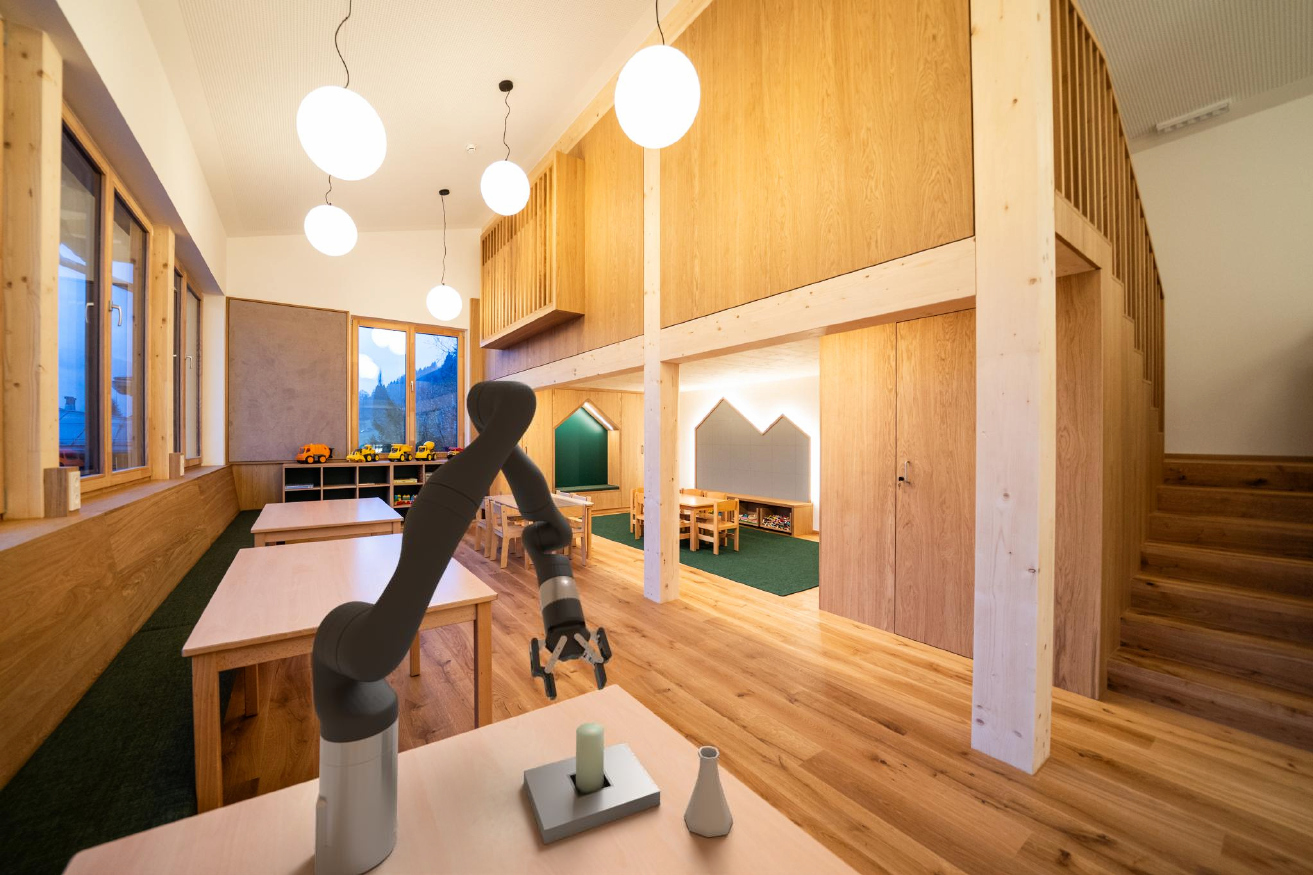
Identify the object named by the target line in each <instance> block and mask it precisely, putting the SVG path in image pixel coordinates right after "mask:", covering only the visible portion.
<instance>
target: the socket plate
mask: <svg viewBox="0 0 1313 875" xmlns="http://www.w3.org/2000/svg"><path fill="white" fill-rule="evenodd" d="M523 785H524V788H525V791H526V794H527V798H528V800H529V803H530V806H531V809H532V813H533V815H534V818H535V821H536V824H537V827H538V830H539V832H540V836H541V839H542V842H543V845H545V846H546V845H548V844H550V843H554V842H556V841H560V840H562V839H565V838H568V837H570V836H573V835H576V834H579V833H581V832H585V831H587V830H590V829H594V828H596V827H598V826H602V825H604V824H607V823H610V822H613V821H616V820H618V819H623V818H624V817H627V816H630V815H633V814H636V813H638V812H641V811H644V810H646V809H649V808H650V809H651V808H653V807H656V806H657V805H658V806H659V805H661V790H660V788H659V786H657V784H656V783H655V782H654V780H653V778H652V777H651V776H650V775H649V773H648V772H647V771H646V769H645V768H644V767H643V764H642V763H641V762H640V761H639V759H638V758H637V757H636V755H635V754H634V753H633V751H632V749H631V748H630V747H629V745H628V744H627V743H626V742H621V743H618V744H614V745H612V746H607V747H604V788H603V789H600V790H597V791H593V792H590V793H587V794H584V795H581V796H579V794H578V792H577V790H576V755H575V756H572V757H568V758H565V759H561V760H558V761H554V762H551V763H548V764H547V763H546V764H544V765H540V766H535V767H533V768H530V769H526V770H523Z"/></svg>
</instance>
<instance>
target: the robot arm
mask: <svg viewBox="0 0 1313 875" xmlns="http://www.w3.org/2000/svg"><path fill="white" fill-rule="evenodd" d="M537 405H538V404H537V396H536V393H535V391H534V388H533V387H532V386H531V385H529V384H528V383H526V382H522V381H516V380H483V381H479V382H476V383H475V384H474V385H472V386H471V388H469V391H468V394H467V396H466V410H467V414H468V417H469V419H470V421H471V423H472V426H474V428H475V430H476V431H477V433H478V436H476V438H475V439H474V440H473V441H472V442H471V443H470V444H468V445H467V446H465V447H463V449H462V450H460V451H458V453H456V454H454V456H452V457H450V458H449V459H448V460H446V461H445V462H444V463H443V464H441V465H440V466H439V467H438V468H437V469H436V470H434V471H433V472H432V473H431V474H430V476H429V477H428V478H427V480H426V481H425V482H424V484H423V485H422V487H421V489H420V490H419V492H418V494H417V495H416V497H415V498H414V500H413V501H412V503H411V504H410V506H409V508H408V510H407V513H406V515H405V518H404V522H403V528H402V536H401V547H400V548H401V549H400V553H399V560H398V563H397V564H396V568H395V570H394V572H393V574H392V576H391V578H390V579H389V581H388V583H387V585H386V586H385V588H384V589H383V592H382V593H381V595H380V596H379V598H378V599H377V600H376V602H375V603H371V602H366V601H360V600H359V601H357V600H356V601H355V600H353V601H347V602H345V603H341V604H339V605H338V606H336V607H335V608H333V609H331V610H330V611H329V612H328V613H327V614H326V616H325V617H324V618H323V619H322V620H321V622H320V623H319V626H318V628H317V630H316V632H315V636H314V638H313V644H312V652H311V653H312V654H311V665H312V668H311V669H312V670H311V672H312V698H313V699H312V700H313V708H314V711H315V715H316V717H317V719H318V722H319V772H318V773H319V776H318V778H319V781H318V795H317V799H316V803H315V818H314V819H315V821H314V822H315V824H314V825H315V828H314V829H315V830H314V832H315V833H314V875H362V874H363V873H366V872H368V871H370V870H371V869H373V868H374V867H376V866H378V865H379V864H380V863H382V862H383V861H384V860H385V859H387V857H388V856H389V855H390V854H391V853H392V851H393V850H394V848H395V847H396V846H395V845H396V844H397V837H398V835H397V833H398V781H399V780H398V776H399V774H398V771H399V768H398V767H399V766H398V764H399V711H400V710H399V709H400V708H399V704H400V701H399V696H398V694H397V691H395V690H394V688H393V687H392V686H391V684H390V683H389V682H388V680H387V679H386V677H388V676H389V675H391V674H392V673H393V672H394V671H395V670H396V669H397V668H398V667H399V665H401V663H402V662H403V660H404V659H405V657H406V656H407V654H408V653H409V651H410V649H411V647H412V646H413V645H412V644H413V643H414V641H415V638H416V636H417V634H418V631H419V630H420V627H421V625H422V623H423V620H424V618H425V615H426V613H427V610H428V609H429V606H430V603H431V601H432V598H433V597H434V594H435V592H436V590H437V587H438V586H439V583H440V581H441V579H442V578H443V575H444V574H445V572H446V570H447V568H448V566H449V563H450V562H451V560H452V558H453V556H454V555H455V553H456V551H457V549H458V547H459V545H460V542H461V541H462V540H463V537H465V534H466V533H467V531H468V529H469V528H470V526H471V524H472V522H473V521H474V519H475V517H476V515H477V513H478V512H479V509H480V507H481V505H482V503H483V501H484V500H485V497H486V495H487V493H488V492H489V490H490V488H491V487H492V485H493V483H494V481H495V480H496V477H497V476H498V475H499V473H500V472H502V474H503V475H504V478H505V479H506V482H507V484H508V487H509V488H510V491H511V494H512V496H513V499H514V502H515V503H516V507H517V509H518V512H519V514H520V516H521V517H522V519H523V520H525V521H527V522H533V523H530V524H528V525H526V526H524V528H523V530H522V533H521V535H520V537H521V538H520V540H521V543H522V546H523V548H524V549H525V552H526V553H527V555H528V556H529V558H530V560H531V562H532V564H533V567H534V571H535V574H536V580H537V585H538V590H539V604H540V606H539V607H540V611H541V618H542V621H543V628H544V634H545V638H543V639H538V638H537V637H532V638H531V641H530V644H529V646H528V650H529V651H528V652H529V664H530V675H531V677H532V678H537V677H538V678H542V680H543V684H544V686H543V687H544V691H545V695H546V697H547V698H549V699H550V701H554V700H556V698H557V696H558V693H557V688H556V682H555V675H554V673H553V672H552V671H553V669H554V668H555V665H556V664H557V662H558V661H560V662H562V663H563V662H568V661H570V660H574V661H575V660H579V659H580V658H581V659H582V660H583V661H584V662H587V663H589V664H590V665H591V666H592V667H593V668H594V669H593V672H594V676H595V681H596V686H597V690H599V691H601V690H604V688H605V686H606V684H607V682H608V678H607V674H606V669H605V664H608V663H609V661H610V659H611V658H612V657H613V654H612V649H611V647H610V645H609V640H608V637H607V633H606V631H605V628H604V627H602V626H600V627H598V629H596V630H593V631H591V630H590V631H589V630H588V628H587V625H586V620H585V615H584V610H583V606H582V602H581V597H580V593H579V589H578V586H577V583H576V581H575V578H574V573H573V568H572V564H571V561H570V559H569V558H568V556H567V555H565V554H563V553H552V552H556V551H559V550H563V549H565V548H568V546H570V545H571V543H572V540H573V537H574V535H573V534H574V532H573V529H572V527H571V526H572V525H571V524H570V522H569V520H567V518H566V517H565V516H564V515H563V513H562V512H561V510H559V508H558V507H557V505H556V503H555V502H554V500H553V497H552V493H551V490H550V488H549V486H548V482H547V480H546V478H545V476H544V474H543V472H542V471H541V469H540V468H539V466H538V465H537V464H536V463H535V461H534V460H532V459H531V457H530V456H529V455H528V454H527V453H526V452H525V451H524V449H523V448H522V447H521V446H520V445H519V442H520V440H521V439H522V438H523V436H524V435H525V433H526V432H527V431H528V429H529V427H530V426H531V424H532V422H533V420H534V417H535V414H536V410H537ZM590 639H591V640H592V641H593V643H595V644H597V648H598V651H599V653H598V652H597V651H596V648H594V646H593V645H592V644H590V643H589V642H590ZM543 648H545V649H546V650H547V651H548V652H549V653H550V654H551V656H550V658H549V660H548V662H547V663H546V666H543V665H542V666H541V656H540V653H542V650H543Z"/></svg>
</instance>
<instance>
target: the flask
mask: <svg viewBox="0 0 1313 875" xmlns="http://www.w3.org/2000/svg"><path fill="white" fill-rule="evenodd" d="M697 756H698V757H699V767H698V768H699V769H698V774H697V779H696V781H695V783H694V787H693V790H692V793H691V796H690V799H689V801H688V805H687V807H686V809H685V812H684V815H683V817H684V819H685V823H686V825H687V827H688V830H689V831H690V832H693V833H695V834H698V835H701V836H704V837H707V838H711V837H718V836H724V835H728V834H729V831H730V829H731V827H732V824H733V821H734V819H733V817H732V816H733V815H732V813H731V810H730V807H729V805H728V801H727V797H726V795H725V793H724V792H725V791H724V788H723V786H722V782H721V779H720V774H719V773H720V772H719V766H718V765H719V764H718V761H719V758H720V752H719V750H718V748H717V747H715V746H710V745H705V746H700V748H699V749H698V751H697Z"/></svg>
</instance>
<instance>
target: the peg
mask: <svg viewBox="0 0 1313 875" xmlns="http://www.w3.org/2000/svg"><path fill="white" fill-rule="evenodd" d="M575 732H576V734H575V736H576V737H575V742H576V744H575V756H576V786H575V788H576V790H577V792H578V794H579V796H581V795H584V794H587V793H590V792H593V791H597V790H600V789H603V788H605V787H604V748H605V727H604V726H603V725H602V724H601V723H599V722H590V721H589V722H586V723H582V724H580V725H579V726H578V727H577V728H576V731H575Z"/></svg>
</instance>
